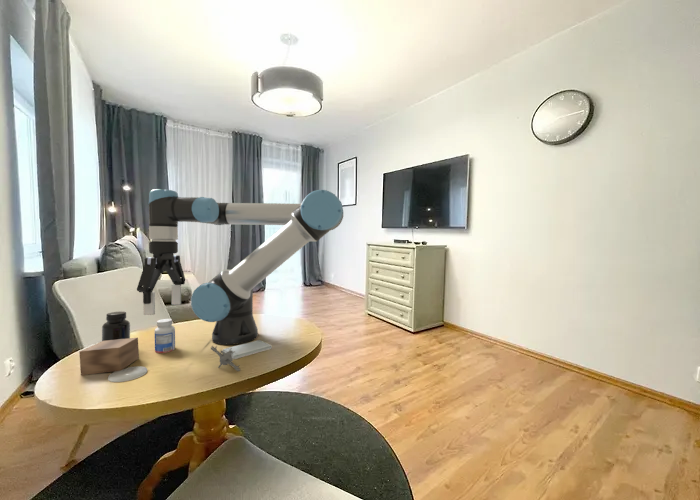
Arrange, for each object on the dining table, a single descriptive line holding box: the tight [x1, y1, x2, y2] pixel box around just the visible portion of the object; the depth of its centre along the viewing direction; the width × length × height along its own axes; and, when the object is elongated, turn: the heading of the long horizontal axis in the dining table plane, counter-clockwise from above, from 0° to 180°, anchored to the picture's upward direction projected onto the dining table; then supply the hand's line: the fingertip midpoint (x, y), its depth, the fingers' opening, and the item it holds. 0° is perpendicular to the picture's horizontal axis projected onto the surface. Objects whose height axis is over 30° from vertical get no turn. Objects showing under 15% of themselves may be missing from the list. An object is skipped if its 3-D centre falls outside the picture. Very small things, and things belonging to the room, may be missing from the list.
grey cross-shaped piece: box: [210, 345, 241, 372], centre depth 81 cm, size 10×6×9 cm
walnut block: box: [78, 337, 140, 376], centre depth 80 cm, size 9×9×6 cm
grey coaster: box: [107, 365, 148, 383], centre depth 75 cm, size 8×8×1 cm
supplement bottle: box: [101, 311, 131, 341], centre depth 91 cm, size 7×7×12 cm
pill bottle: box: [154, 318, 176, 354], centre depth 92 cm, size 6×5×10 cm
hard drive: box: [221, 339, 272, 360], centre depth 94 cm, size 2×8×12 cm
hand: (163, 309), depth 92 cm, fingers open, 13 cm apart
